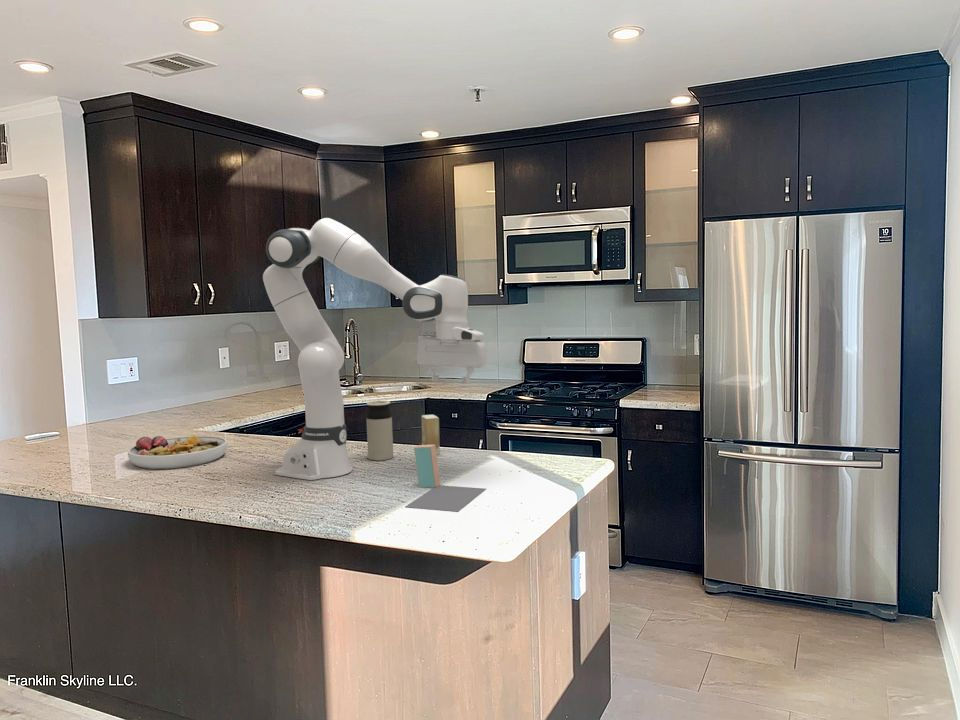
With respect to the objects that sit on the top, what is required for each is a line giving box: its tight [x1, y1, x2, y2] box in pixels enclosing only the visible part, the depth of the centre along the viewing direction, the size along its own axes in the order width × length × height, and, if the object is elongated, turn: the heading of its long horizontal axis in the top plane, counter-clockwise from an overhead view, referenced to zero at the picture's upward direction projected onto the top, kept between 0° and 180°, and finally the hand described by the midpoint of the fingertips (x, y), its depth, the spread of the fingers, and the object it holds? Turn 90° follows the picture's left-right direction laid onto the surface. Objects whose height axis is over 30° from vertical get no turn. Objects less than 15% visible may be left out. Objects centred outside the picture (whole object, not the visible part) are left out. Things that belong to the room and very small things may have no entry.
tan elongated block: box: [413, 444, 441, 489], centre depth 191 cm, size 5×3×11 cm, turn 70°
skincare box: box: [421, 414, 441, 455], centre depth 230 cm, size 6×4×12 cm
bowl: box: [127, 434, 228, 470], centre depth 232 cm, size 30×30×8 cm
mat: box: [404, 484, 487, 513], centre depth 179 cm, size 14×20×1 cm
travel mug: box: [365, 400, 394, 462], centre depth 225 cm, size 8×8×18 cm
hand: (450, 382), depth 200 cm, fingers open, 8 cm apart
